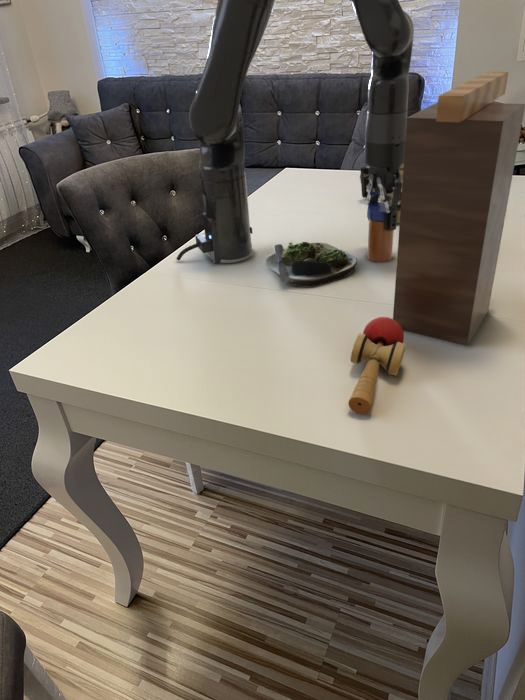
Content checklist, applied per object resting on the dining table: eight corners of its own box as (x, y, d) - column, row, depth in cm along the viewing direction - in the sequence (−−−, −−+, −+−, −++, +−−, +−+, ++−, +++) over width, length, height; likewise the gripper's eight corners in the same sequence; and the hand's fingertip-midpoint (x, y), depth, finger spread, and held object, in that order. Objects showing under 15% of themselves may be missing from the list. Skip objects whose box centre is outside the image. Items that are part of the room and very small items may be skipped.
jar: (375, 263, 109) (377, 215, 103) (362, 255, 113) (364, 208, 107) (396, 258, 110) (400, 210, 104) (383, 250, 114) (386, 204, 108)
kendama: (395, 427, 69) (416, 340, 81) (387, 391, 65) (410, 306, 78) (337, 423, 72) (366, 340, 85) (327, 389, 69) (358, 308, 81)
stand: (467, 345, 81) (503, 120, 64) (392, 327, 87) (406, 117, 70) (488, 311, 89) (525, 103, 72) (418, 297, 95) (437, 102, 78)
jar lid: (376, 223, 103) (377, 213, 102) (361, 215, 108) (362, 205, 107) (402, 218, 105) (402, 208, 104) (386, 210, 110) (386, 200, 109)
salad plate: (244, 262, 114) (242, 241, 111) (313, 241, 121) (313, 222, 118) (292, 295, 99) (291, 272, 97) (368, 270, 106) (369, 248, 104)
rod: (460, 122, 65) (463, 95, 63) (435, 121, 66) (438, 95, 65) (505, 94, 80) (508, 71, 78) (484, 93, 81) (487, 71, 80)
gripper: (348, 134, 103) (347, 218, 112) (389, 147, 92) (384, 240, 101) (382, 128, 105) (378, 212, 114) (426, 140, 94) (418, 232, 103)
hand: (381, 225), depth 107 cm, fingers closed on jar lid, 5 cm apart
